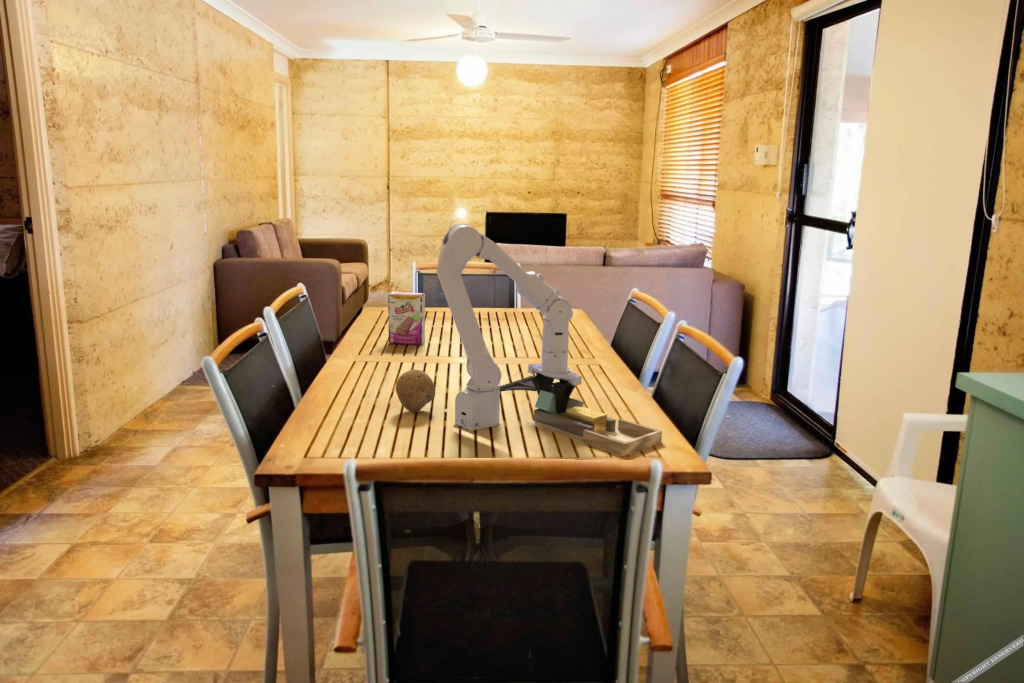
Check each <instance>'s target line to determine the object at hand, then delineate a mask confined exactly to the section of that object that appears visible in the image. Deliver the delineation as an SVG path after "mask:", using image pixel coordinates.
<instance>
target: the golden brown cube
mask: <svg viewBox="0 0 1024 683" xmlns="http://www.w3.org/2000/svg"><path fill="white" fill-rule="evenodd" d="M591 410H593V409H592V408H588V407H585V406H583V407H582V406H576V407H573V408H569V409H567V417H566V418H570V419H573V420H576V421H579V422H580V414H581V413H584V412H588V411H591Z"/></svg>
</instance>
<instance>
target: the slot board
mask: <svg viewBox="0 0 1024 683" xmlns="http://www.w3.org/2000/svg"><path fill="white" fill-rule="evenodd" d="M616 421H618V423H617V424H616ZM526 424H529V425H531V426H535V427H538V428H540V429H543V430H546V431H549V432H551V433H554V434H557V435H560V436H563V437H566V438H569V439H572V440H574V441H577V442H580V443H583V444H586V445H589V446H591V447H594V448H597V449H600V450H603V451H606V452H609V453H611V454H614V455H617V456H620V457H624V456H627V455H630V454H633V453H636V452H640V451H642V450H644V449H648V448H650V447H653V446H656V445H659V444H661V443H663V441H662V439H663V431H662V430H659V429H656V428H652V427H650V426H647V425H643V424H641V423H636V422H633V421H630V420H627V419H624V418H619V419H618V420H616V419H614V418H612V417H608V416H607V423H606V433H603V434H598V433H595V432H594V426H591V425H588V424H585V423H582V422H579V421H576V420H573V419H570V418H566V417H563V416H560V415H557V414H554V413H551V412H548V411H545V410H542V409H539V408H536V409H534V410H533V420H531V421H527V422H526ZM616 425H617V426H616Z"/></svg>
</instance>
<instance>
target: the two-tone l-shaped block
mask: <svg viewBox="0 0 1024 683" xmlns="http://www.w3.org/2000/svg"><path fill="white" fill-rule="evenodd" d="M584 403H585V402H584V401H582V400H579V399H574V398H572V397H569V400H568V403H567V406H566V410H565V412H563V413H557V412H556V397H555V394H552V393H549V392H546V391H543V390H540V393H539V396H537V399H536V402H535V406H534V407H535V408H536V409H542V410H545V411H548V412H551V413H554V414H557V415H560V416H563V417H567V409H569V408H573V407H576V406H582V407H584Z"/></svg>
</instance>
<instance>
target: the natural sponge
mask: <svg viewBox="0 0 1024 683" xmlns="http://www.w3.org/2000/svg"><path fill="white" fill-rule="evenodd" d="M395 392H396V395H397V397H398V400H399V402H400V404H401V405H402V406H403V407H404V408H405V409H406V410H407V411H408V412H409V413H415V414H416V413H418V412H421V410H422V409H423V408H424V407H426V405H427V404H429V403H431V401H433V399H434V398H435V395H436V387H435V384H434V382H433V379H432V378H431V377H430V375H429V374H427V373H426V372H424V371H423V370H419V369H415V368H414V369H410V370H408V371H407V370H406V371H405V372H403V373H402V374H401V375H400V376H399V377H398V379H397V380H396V383H395Z"/></svg>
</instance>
